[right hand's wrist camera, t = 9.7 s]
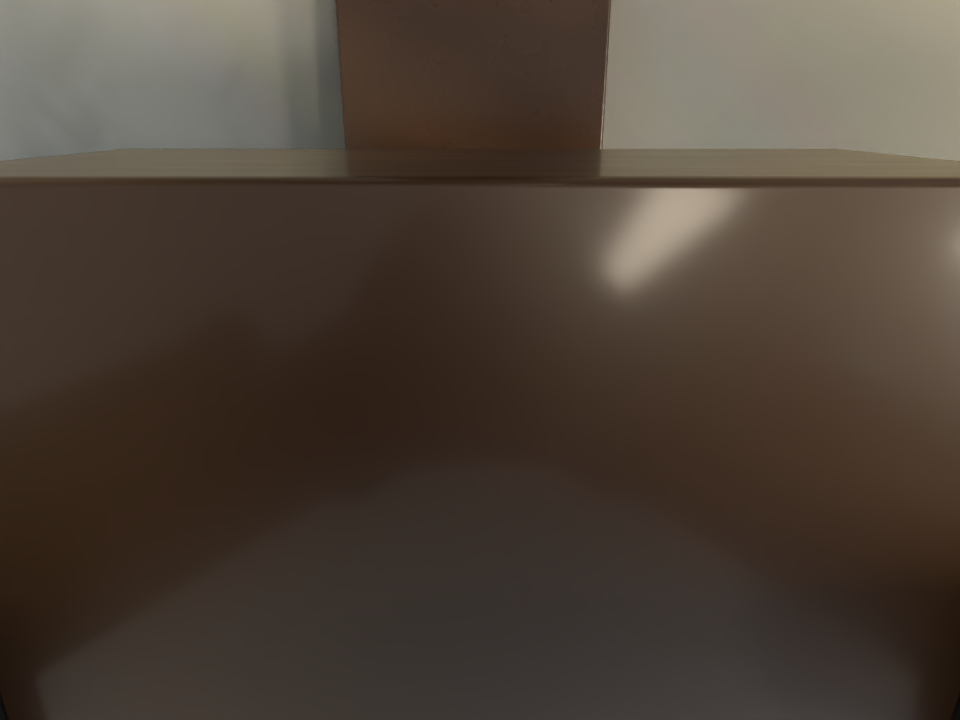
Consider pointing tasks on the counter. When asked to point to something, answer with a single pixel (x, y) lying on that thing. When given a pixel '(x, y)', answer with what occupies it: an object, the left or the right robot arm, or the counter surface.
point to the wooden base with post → (473, 73)
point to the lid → (479, 435)
